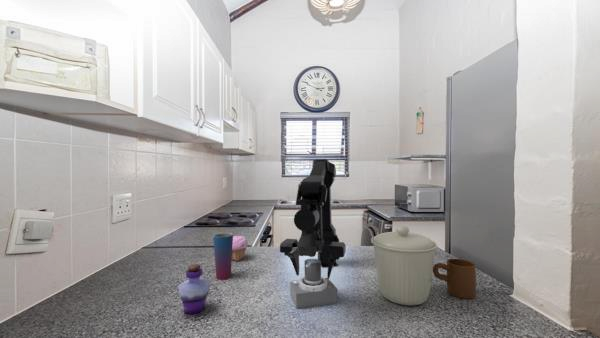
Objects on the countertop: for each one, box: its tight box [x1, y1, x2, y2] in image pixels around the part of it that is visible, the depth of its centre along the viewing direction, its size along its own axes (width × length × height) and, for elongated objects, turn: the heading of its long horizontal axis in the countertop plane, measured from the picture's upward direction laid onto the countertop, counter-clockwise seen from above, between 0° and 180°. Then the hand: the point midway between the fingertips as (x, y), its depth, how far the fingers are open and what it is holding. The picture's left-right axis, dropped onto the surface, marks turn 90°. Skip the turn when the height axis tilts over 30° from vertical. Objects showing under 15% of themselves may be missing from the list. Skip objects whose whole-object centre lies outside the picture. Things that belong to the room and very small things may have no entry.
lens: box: [304, 258, 322, 286], centre depth 78 cm, size 5×5×7 cm
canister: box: [370, 225, 438, 307], centre depth 79 cm, size 18×18×21 cm
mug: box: [432, 258, 477, 300], centre depth 81 cm, size 12×8×9 cm, turn 85°
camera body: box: [289, 276, 338, 310], centre depth 78 cm, size 12×8×5 cm
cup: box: [212, 232, 234, 281], centre depth 95 cm, size 7×7×15 cm
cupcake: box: [232, 235, 248, 262], centre depth 114 cm, size 9×9×10 cm
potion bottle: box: [177, 263, 211, 316], centre depth 73 cm, size 9×9×12 cm
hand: (312, 276), depth 78 cm, fingers open, 9 cm apart
